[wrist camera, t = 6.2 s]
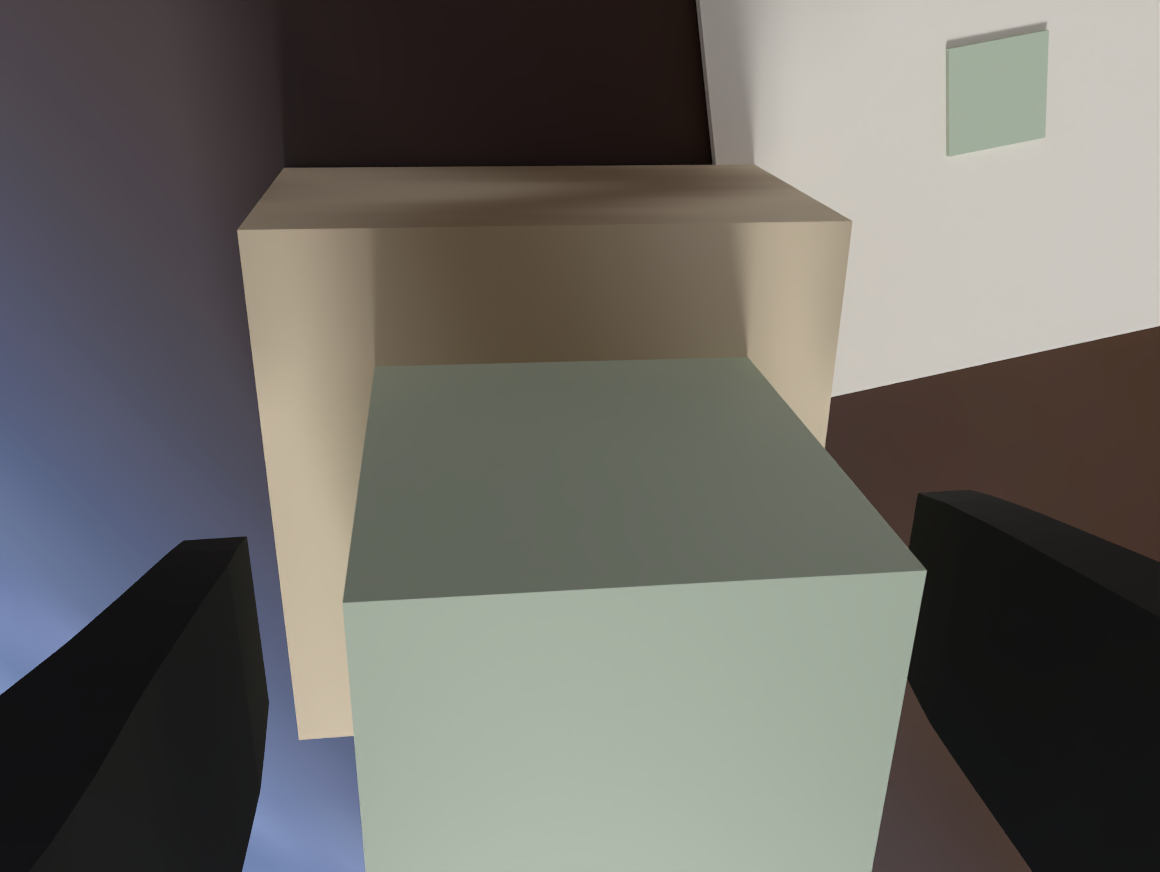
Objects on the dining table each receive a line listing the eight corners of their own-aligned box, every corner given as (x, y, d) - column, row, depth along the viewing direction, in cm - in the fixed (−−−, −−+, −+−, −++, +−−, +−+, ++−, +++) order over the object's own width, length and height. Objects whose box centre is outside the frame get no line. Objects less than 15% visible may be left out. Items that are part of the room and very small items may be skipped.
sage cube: (747, 356, 13) (925, 570, 8) (719, 659, 14) (853, 971, 10) (374, 366, 12) (342, 603, 7) (394, 679, 14) (379, 1023, 9)
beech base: (754, 164, 16) (852, 220, 12) (721, 559, 19) (793, 701, 15) (283, 168, 15) (237, 230, 11) (325, 583, 18) (298, 739, 14)
